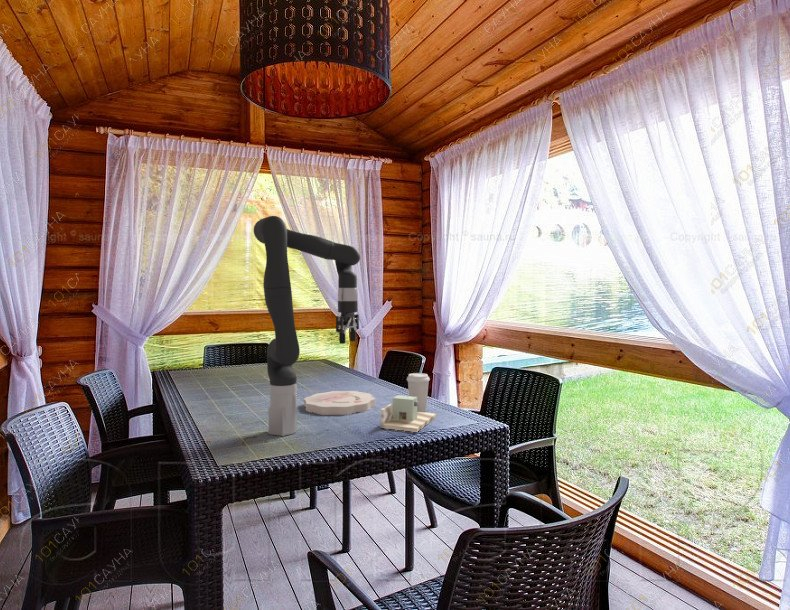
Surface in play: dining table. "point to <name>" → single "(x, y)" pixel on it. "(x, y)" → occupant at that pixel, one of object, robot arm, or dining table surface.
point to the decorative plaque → (339, 402)
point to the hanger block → (405, 407)
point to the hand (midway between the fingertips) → (347, 342)
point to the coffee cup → (419, 389)
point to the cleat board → (404, 420)
